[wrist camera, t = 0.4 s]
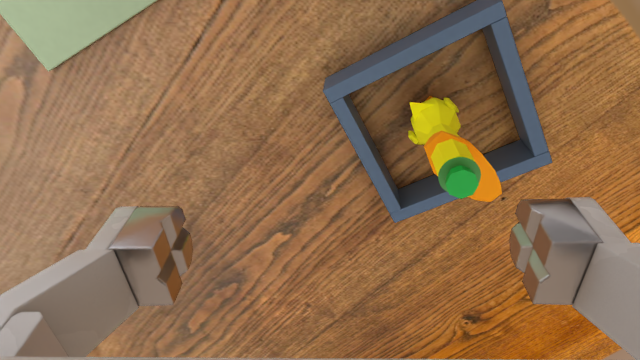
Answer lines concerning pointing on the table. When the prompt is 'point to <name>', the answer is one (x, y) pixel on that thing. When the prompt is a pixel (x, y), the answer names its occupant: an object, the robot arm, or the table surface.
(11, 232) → the table surface
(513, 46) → the open square frame
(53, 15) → the felt mat
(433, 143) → the toy figure
